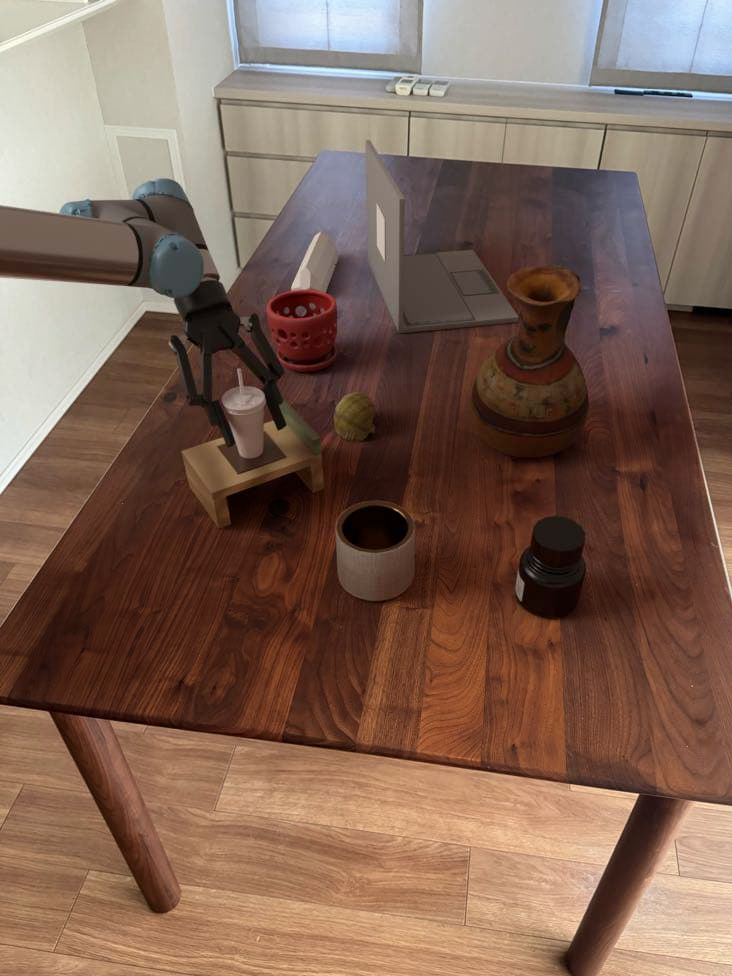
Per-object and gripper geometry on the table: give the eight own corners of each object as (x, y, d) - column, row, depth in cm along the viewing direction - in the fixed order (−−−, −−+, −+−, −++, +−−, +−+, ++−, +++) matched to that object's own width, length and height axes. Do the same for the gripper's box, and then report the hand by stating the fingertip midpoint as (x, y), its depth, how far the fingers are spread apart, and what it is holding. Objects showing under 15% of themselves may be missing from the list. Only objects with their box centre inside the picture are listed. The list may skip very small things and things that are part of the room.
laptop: (518, 322, 168) (534, 190, 149) (397, 334, 163) (398, 199, 145) (472, 255, 193) (481, 134, 174) (367, 263, 188) (364, 140, 170)
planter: (341, 608, 108) (338, 557, 102) (334, 553, 116) (331, 503, 109) (420, 599, 109) (422, 549, 103) (407, 545, 117) (408, 496, 111)
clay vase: (450, 449, 135) (461, 281, 114) (492, 391, 148) (509, 232, 128) (561, 481, 129) (594, 310, 108) (594, 418, 142) (629, 255, 122)
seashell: (369, 455, 140) (396, 420, 137) (345, 448, 134) (373, 411, 131) (338, 422, 144) (364, 387, 142) (314, 413, 138) (340, 377, 136)
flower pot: (346, 346, 160) (343, 290, 151) (330, 380, 150) (326, 322, 142) (283, 340, 161) (277, 284, 153) (264, 373, 152) (256, 316, 144)
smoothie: (271, 437, 125) (261, 358, 115) (273, 461, 120) (262, 381, 110) (229, 440, 124) (216, 361, 114) (230, 465, 119) (216, 385, 110)
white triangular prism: (330, 287, 170) (346, 241, 188) (300, 269, 168) (320, 225, 186) (315, 313, 175) (332, 267, 192) (285, 297, 173) (306, 251, 190)
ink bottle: (538, 563, 115) (549, 500, 107) (591, 592, 111) (608, 528, 103) (500, 601, 109) (509, 537, 101) (555, 632, 105) (569, 569, 97)
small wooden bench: (218, 528, 119) (208, 476, 113) (189, 486, 127) (177, 434, 120) (324, 488, 127) (320, 437, 120) (290, 450, 134) (285, 400, 127)
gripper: (255, 283, 123) (311, 421, 124) (126, 316, 115) (187, 463, 116) (266, 263, 116) (325, 409, 117) (130, 296, 108) (195, 453, 109)
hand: (257, 436), depth 116 cm, fingers open, 7 cm apart
